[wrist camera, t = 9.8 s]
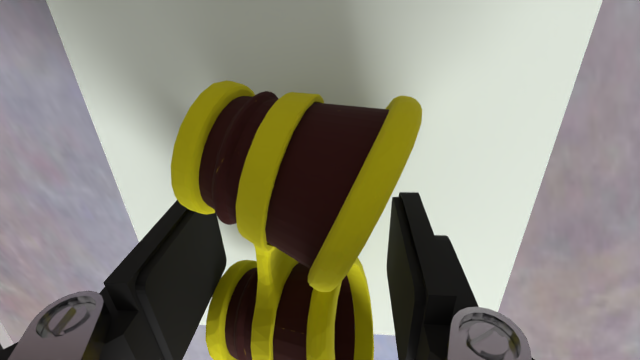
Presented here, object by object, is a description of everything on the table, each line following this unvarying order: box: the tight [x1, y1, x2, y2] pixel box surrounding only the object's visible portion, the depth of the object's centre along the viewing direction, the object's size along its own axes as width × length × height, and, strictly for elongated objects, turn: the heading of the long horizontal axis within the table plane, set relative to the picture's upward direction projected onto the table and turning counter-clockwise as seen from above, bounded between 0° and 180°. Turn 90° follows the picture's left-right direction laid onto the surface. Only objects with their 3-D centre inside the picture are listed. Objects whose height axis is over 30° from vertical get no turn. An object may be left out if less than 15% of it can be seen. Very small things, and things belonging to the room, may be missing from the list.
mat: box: [46, 0, 602, 335], centre depth 13 cm, size 16×16×1 cm
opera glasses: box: [171, 80, 422, 360], centre depth 9 cm, size 10×5×5 cm, turn 178°
